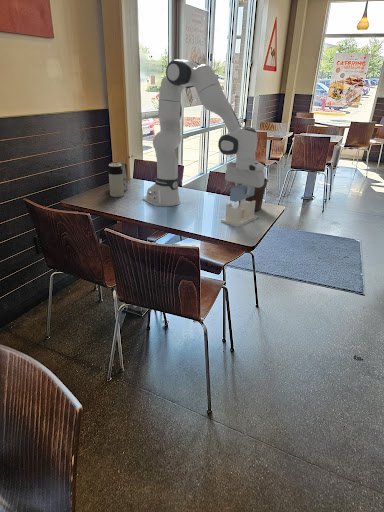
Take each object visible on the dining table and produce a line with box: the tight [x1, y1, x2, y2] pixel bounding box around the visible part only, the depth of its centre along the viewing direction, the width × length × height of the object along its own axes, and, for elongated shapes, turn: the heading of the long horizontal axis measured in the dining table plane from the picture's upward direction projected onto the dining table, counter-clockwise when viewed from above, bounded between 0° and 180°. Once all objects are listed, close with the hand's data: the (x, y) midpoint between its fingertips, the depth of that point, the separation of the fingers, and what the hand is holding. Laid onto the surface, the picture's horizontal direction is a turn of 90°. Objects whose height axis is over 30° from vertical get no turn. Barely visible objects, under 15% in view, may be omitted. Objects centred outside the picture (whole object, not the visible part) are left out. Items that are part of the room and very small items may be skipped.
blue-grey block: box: [229, 184, 255, 203], centre depth 167 cm, size 4×16×6 cm, turn 139°
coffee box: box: [110, 161, 129, 191], centre depth 214 cm, size 9×6×16 cm
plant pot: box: [238, 177, 269, 212], centre depth 188 cm, size 16×16×16 cm
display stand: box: [220, 198, 259, 228], centre depth 171 cm, size 10×18×9 cm, turn 139°
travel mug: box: [107, 163, 125, 198], centre depth 201 cm, size 8×8×18 cm
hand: (242, 193), depth 167 cm, fingers closed on blue-grey block, 3 cm apart
